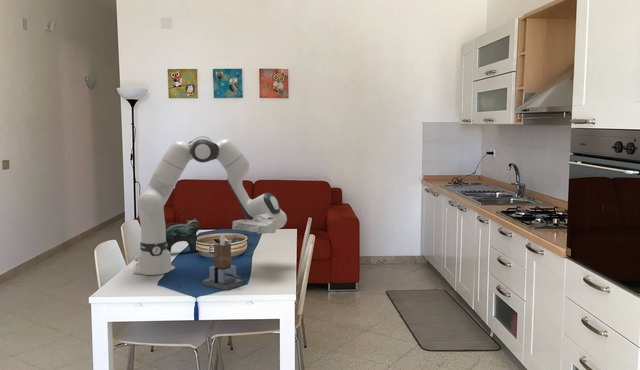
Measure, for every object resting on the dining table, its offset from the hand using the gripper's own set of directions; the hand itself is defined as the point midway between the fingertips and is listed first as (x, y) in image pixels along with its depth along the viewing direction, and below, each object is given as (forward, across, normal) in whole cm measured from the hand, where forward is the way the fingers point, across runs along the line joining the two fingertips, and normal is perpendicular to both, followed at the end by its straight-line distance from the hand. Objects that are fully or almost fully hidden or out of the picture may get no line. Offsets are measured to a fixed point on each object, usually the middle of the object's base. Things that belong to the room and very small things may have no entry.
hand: (241, 229), depth 251 cm
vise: (+12, +1, +22) cm, 26 cm away
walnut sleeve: (+12, 0, +14) cm, 19 cm away
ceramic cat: (-16, -56, +22) cm, 63 cm away
